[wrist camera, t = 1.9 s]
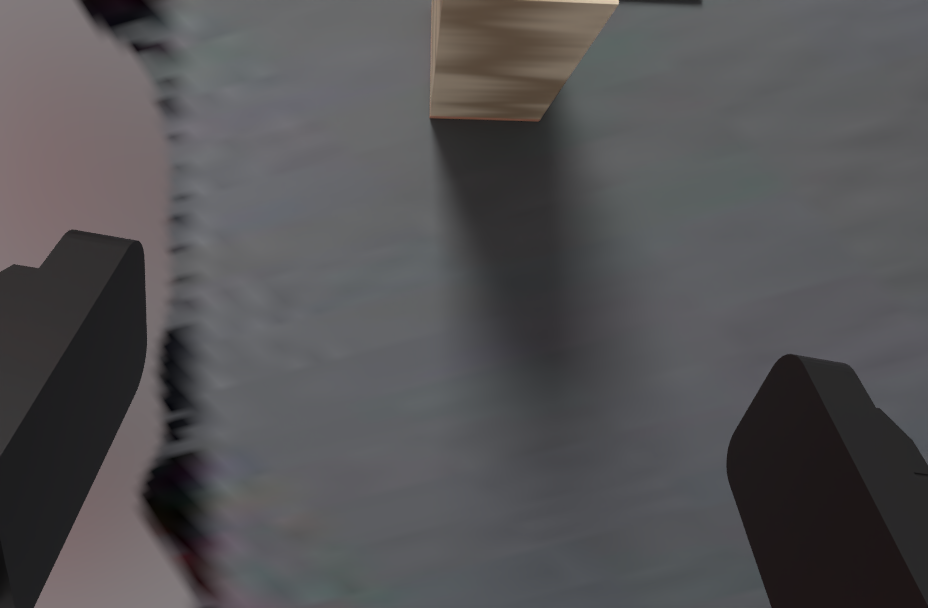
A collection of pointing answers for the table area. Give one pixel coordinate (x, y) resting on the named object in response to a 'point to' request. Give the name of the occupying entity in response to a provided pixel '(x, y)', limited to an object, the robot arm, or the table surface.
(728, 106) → the table surface
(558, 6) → the tall block
